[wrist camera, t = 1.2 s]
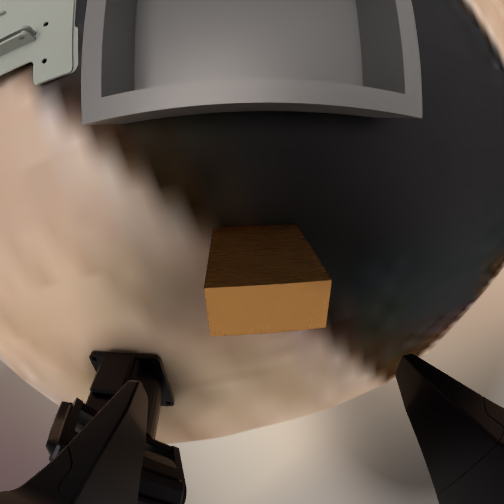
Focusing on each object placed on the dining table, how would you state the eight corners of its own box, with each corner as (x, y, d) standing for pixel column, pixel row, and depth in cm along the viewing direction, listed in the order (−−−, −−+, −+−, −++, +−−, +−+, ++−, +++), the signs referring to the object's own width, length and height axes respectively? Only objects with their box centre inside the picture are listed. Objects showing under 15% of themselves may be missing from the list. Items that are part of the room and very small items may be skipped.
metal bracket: (-79, 143, 7) (-54, -16, 1) (-41, 139, 12) (-29, 2, 6) (87, 58, 11) (103, -90, 5) (101, 79, 16) (105, -54, 10)
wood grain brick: (292, 305, 20) (316, 380, 14) (220, 310, 20) (219, 388, 13) (295, 223, 18) (331, 280, 11) (213, 227, 17) (203, 288, 11)
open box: (375, 117, 15) (422, 118, 10) (122, 124, 14) (82, 124, 10) (363, -16, 11) (399, -46, 6) (126, -16, 10) (98, -50, 6)
